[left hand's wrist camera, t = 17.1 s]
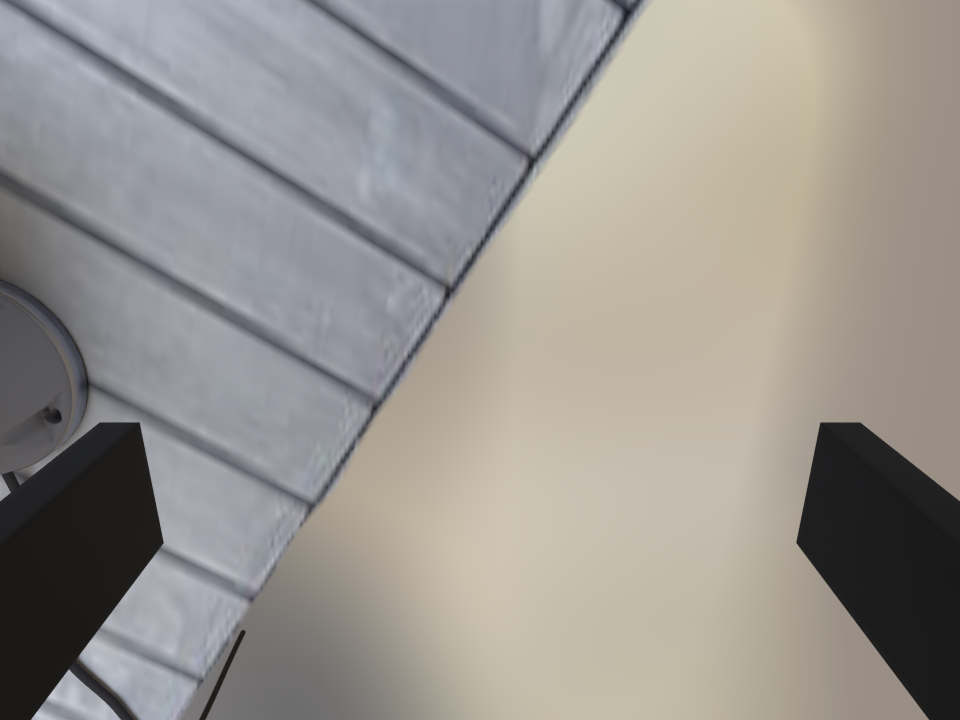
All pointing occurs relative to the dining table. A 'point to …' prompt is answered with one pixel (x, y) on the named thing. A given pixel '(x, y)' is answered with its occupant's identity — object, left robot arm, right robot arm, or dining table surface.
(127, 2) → the dining table surface
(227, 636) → the dining table surface
